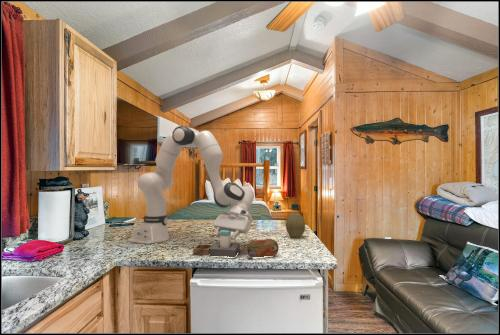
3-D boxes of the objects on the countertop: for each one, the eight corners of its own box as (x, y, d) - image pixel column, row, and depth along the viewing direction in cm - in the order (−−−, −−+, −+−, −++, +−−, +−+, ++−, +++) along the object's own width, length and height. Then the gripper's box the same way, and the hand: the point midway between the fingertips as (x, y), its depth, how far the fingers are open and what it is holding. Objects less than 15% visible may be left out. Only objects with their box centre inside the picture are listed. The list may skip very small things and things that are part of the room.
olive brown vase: (287, 239, 146) (287, 213, 146) (284, 235, 157) (284, 210, 157) (307, 239, 146) (307, 213, 147) (302, 234, 158) (302, 210, 158)
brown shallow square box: (193, 255, 120) (193, 248, 120) (198, 250, 127) (198, 244, 127) (208, 255, 119) (208, 249, 119) (213, 250, 126) (213, 244, 126)
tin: (247, 260, 113) (247, 241, 113) (245, 258, 116) (245, 239, 116) (278, 257, 117) (278, 238, 117) (276, 254, 120) (276, 237, 120)
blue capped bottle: (220, 255, 120) (220, 231, 120) (222, 252, 124) (222, 229, 124) (228, 255, 119) (228, 232, 119) (230, 253, 123) (230, 230, 123)
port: (209, 257, 116) (209, 248, 116) (216, 249, 128) (216, 241, 128) (235, 259, 115) (235, 250, 115) (240, 250, 126) (240, 242, 126)
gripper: (218, 208, 133) (205, 231, 125) (250, 212, 122) (238, 237, 114) (223, 216, 137) (211, 238, 129) (255, 220, 125) (244, 244, 117)
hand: (224, 237), depth 121 cm, fingers open, 8 cm apart
